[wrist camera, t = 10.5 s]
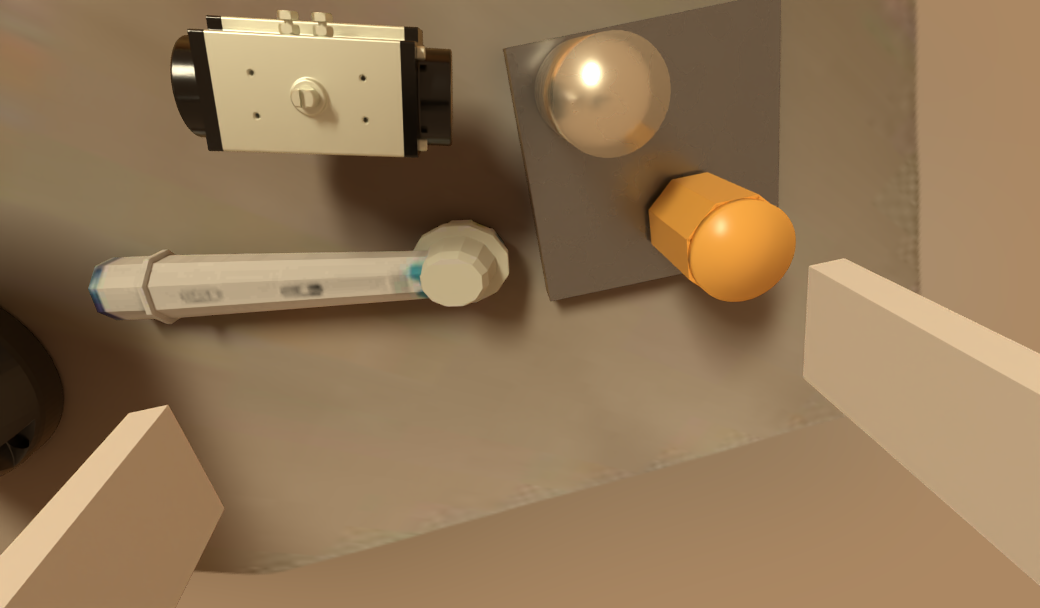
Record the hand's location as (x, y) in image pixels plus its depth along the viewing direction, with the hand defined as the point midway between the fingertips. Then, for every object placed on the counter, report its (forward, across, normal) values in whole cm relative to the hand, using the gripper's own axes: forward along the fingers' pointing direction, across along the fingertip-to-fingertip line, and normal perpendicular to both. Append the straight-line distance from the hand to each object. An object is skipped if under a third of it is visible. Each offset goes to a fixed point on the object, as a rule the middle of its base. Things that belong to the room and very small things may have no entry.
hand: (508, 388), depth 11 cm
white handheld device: (+27, -11, -4) cm, 30 cm away
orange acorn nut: (+23, +14, -6) cm, 28 cm away
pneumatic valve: (+27, -5, +6) cm, 28 cm away
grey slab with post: (+26, +12, -2) cm, 29 cm away
